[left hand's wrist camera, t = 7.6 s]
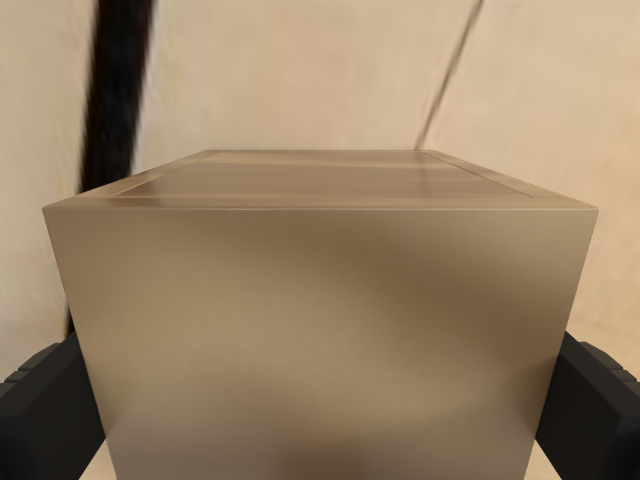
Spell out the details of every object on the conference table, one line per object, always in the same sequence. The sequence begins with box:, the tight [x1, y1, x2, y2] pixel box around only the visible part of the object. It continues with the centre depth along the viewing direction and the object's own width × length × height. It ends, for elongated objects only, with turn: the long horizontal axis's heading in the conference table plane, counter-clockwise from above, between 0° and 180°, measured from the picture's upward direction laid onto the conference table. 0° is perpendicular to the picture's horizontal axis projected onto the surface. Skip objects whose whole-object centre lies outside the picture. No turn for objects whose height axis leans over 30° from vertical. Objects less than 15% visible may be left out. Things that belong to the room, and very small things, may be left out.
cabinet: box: [42, 150, 599, 480], centre depth 15 cm, size 16×11×11 cm
